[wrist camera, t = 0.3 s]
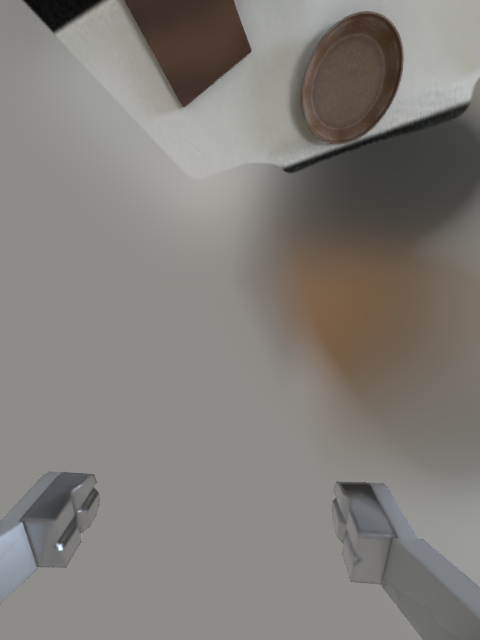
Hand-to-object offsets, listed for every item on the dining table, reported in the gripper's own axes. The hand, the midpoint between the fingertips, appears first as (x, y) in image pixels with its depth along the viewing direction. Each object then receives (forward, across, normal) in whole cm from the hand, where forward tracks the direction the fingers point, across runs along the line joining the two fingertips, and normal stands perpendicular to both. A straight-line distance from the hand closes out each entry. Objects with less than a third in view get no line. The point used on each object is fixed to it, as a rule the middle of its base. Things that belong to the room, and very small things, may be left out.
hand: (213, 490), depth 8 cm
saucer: (+44, -16, -34) cm, 57 cm away
